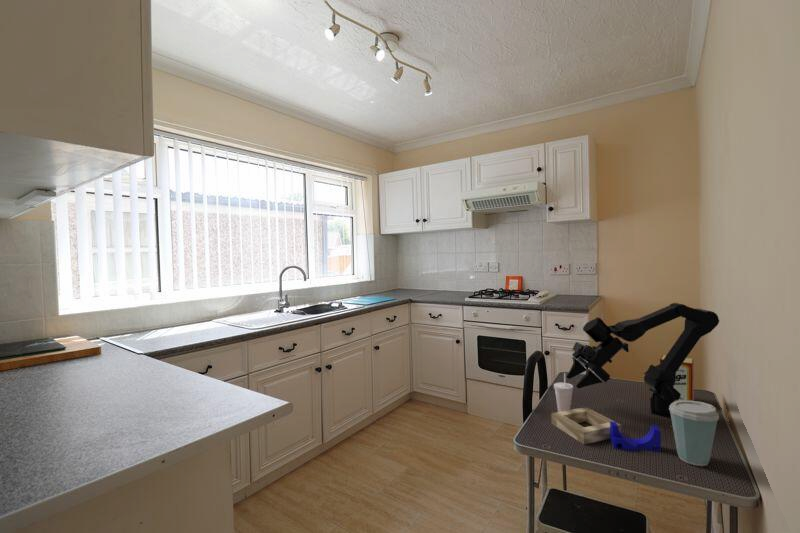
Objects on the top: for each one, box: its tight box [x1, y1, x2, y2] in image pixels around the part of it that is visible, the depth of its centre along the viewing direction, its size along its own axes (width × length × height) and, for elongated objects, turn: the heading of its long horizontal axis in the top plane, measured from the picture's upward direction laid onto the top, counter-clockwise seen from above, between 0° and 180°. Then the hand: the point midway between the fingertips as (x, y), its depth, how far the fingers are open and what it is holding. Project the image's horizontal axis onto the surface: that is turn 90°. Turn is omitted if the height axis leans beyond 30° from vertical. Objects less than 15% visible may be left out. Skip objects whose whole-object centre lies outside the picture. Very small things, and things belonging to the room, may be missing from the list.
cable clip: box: [609, 421, 662, 452], centre depth 108 cm, size 12×4×6 cm, turn 73°
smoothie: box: [553, 372, 574, 412], centre depth 132 cm, size 6×6×14 cm
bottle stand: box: [550, 406, 622, 445], centre depth 119 cm, size 14×14×4 cm
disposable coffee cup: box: [669, 400, 720, 467], centre depth 101 cm, size 11×11×15 cm
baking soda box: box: [659, 354, 695, 401], centre depth 138 cm, size 10×6×16 cm
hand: (572, 382), depth 131 cm, fingers open, 9 cm apart
